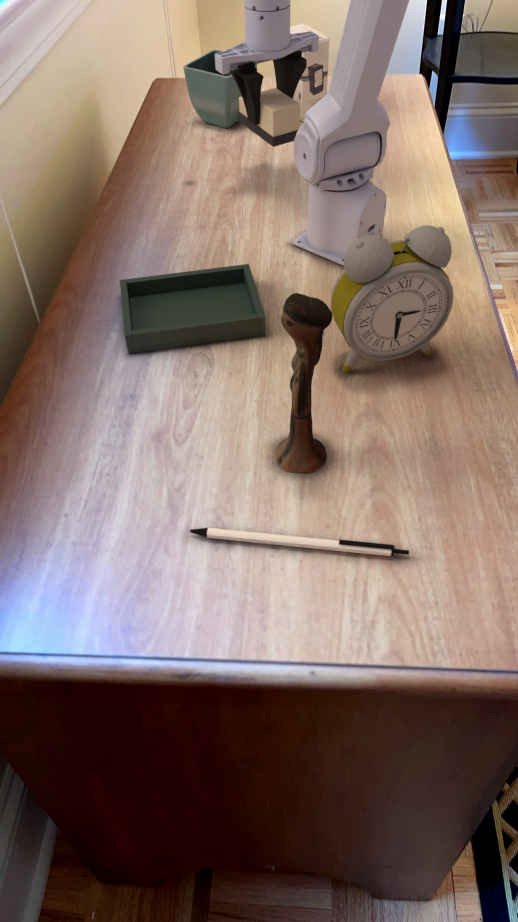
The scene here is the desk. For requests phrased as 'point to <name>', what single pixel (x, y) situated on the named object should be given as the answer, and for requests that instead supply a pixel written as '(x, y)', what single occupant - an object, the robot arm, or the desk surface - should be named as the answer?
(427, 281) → the alarm clock
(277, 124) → the beige wooden block
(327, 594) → the desk surface
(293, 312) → the figurine
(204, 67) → the flower pot
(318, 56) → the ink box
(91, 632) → the desk surface
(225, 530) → the pen
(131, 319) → the dark green tray
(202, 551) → the desk surface
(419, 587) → the desk surface
